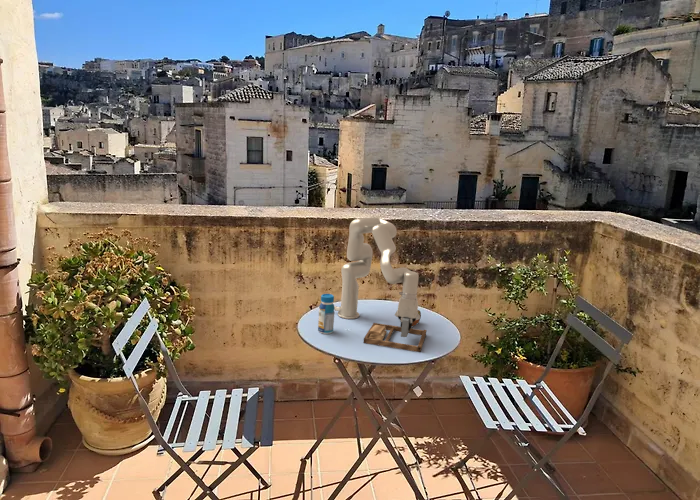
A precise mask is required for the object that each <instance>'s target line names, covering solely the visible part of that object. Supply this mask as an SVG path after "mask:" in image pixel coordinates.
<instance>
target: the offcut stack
mask: <svg viewBox="0 0 700 500" xmlns="http://www.w3.org/2000/svg"><path fill="white" fill-rule="evenodd" d="M387 331H388V330H386V328H385V326H380V325H375V326H374V327H373V328H372V329H371V330H370V333H369V334H370V336H369V338H371V339H377V340H383V341H384V340H385V339H384V338H386V337H385V336H387Z"/></svg>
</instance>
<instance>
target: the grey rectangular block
mask: <svg viewBox="0 0 700 500" xmlns="http://www.w3.org/2000/svg"><path fill="white" fill-rule="evenodd" d="M409 322H410V318H406V317H404V318H403V320H402V329H401V332H400V337H402V338H408V335H409V334H410V333H409V330H408V329H409Z"/></svg>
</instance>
